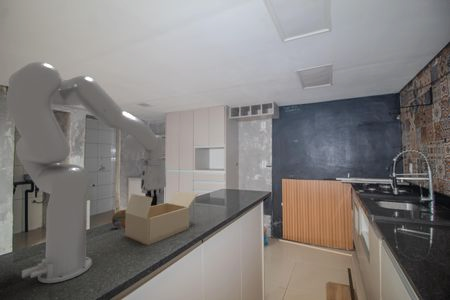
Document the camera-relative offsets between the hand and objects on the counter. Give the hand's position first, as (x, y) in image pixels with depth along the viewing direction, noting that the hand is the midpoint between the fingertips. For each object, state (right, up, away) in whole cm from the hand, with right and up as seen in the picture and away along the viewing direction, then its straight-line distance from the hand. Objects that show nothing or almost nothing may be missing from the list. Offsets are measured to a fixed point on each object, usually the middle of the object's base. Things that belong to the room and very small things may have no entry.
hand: (153, 205), depth 88 cm
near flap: (-4, +1, -5) cm, 7 cm away
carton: (+2, -13, +2) cm, 13 cm away
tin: (-16, -13, +10) cm, 23 cm away
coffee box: (-8, -14, +25) cm, 29 cm away
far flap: (+10, -1, +14) cm, 17 cm away
